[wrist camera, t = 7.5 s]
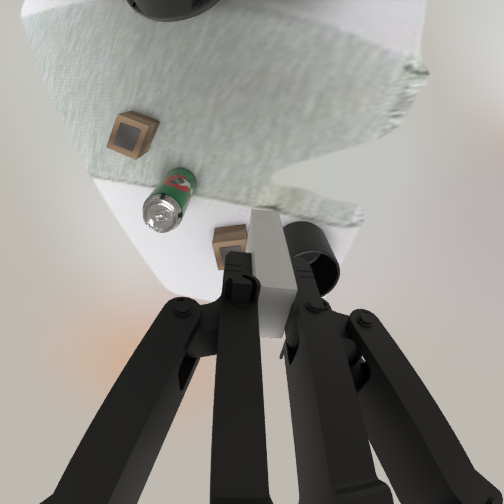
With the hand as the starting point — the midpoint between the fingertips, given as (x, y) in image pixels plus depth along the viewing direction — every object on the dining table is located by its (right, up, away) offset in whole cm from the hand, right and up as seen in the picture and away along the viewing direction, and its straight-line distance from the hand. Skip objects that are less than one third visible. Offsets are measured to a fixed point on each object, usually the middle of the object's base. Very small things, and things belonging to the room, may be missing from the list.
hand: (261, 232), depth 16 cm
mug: (+8, -1, +32) cm, 33 cm away
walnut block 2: (-4, +1, +31) cm, 31 cm away
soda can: (-11, +10, +25) cm, 29 cm away
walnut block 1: (-17, +17, +20) cm, 32 cm away
